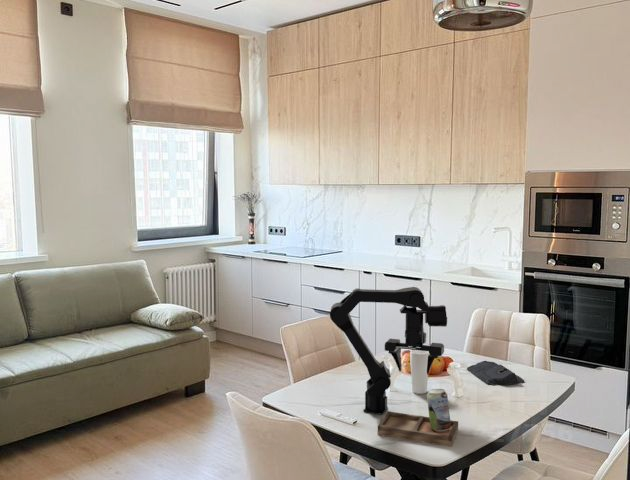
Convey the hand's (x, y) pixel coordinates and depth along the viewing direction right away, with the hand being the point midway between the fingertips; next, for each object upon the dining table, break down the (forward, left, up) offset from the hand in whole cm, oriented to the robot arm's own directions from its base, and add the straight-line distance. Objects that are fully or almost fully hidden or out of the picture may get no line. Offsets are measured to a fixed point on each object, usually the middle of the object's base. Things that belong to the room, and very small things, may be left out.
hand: (414, 372), depth 190 cm
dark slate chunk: (+21, +46, -14) cm, 52 cm away
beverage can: (+11, -15, -12) cm, 22 cm away
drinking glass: (-2, +18, -13) cm, 22 cm away
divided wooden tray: (+5, -16, -13) cm, 21 cm away
